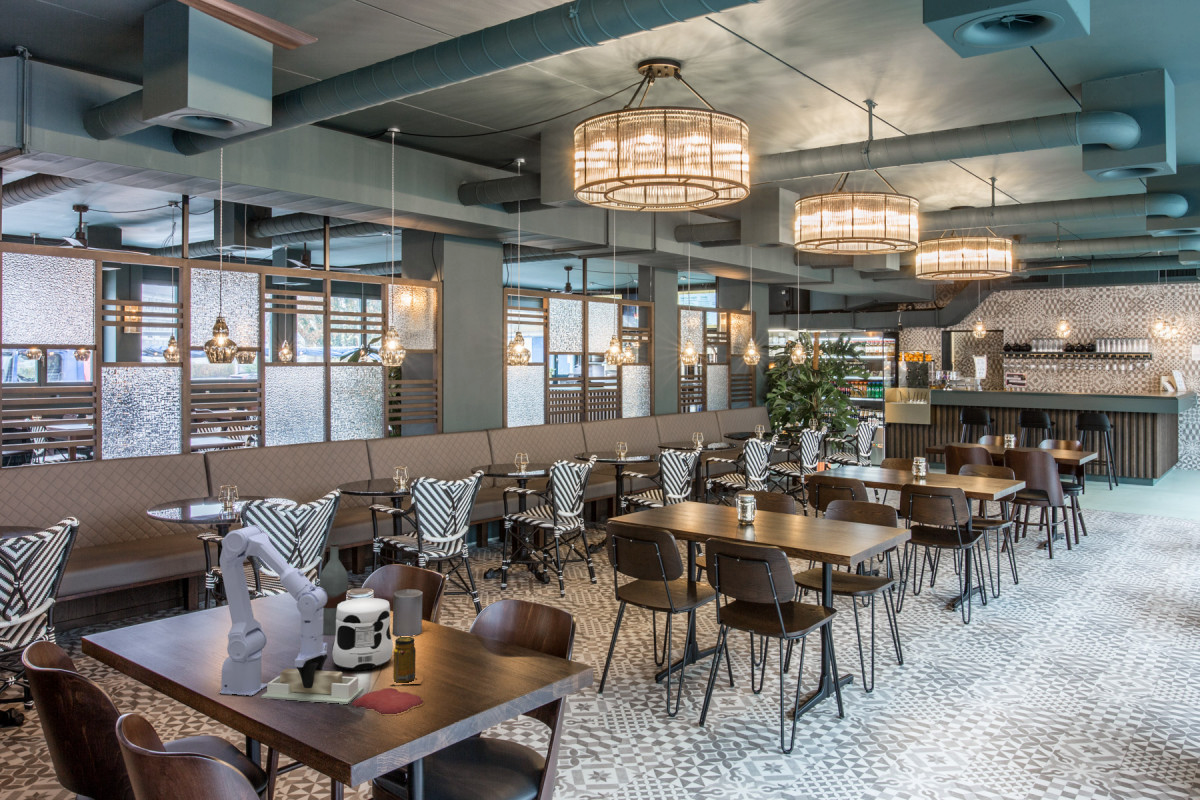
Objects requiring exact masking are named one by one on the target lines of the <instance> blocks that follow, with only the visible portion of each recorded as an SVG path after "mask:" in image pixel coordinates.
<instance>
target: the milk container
mask: <svg viewBox="0 0 1200 800" xmlns="http://www.w3.org/2000/svg"><path fill="white" fill-rule="evenodd" d="M390 615H391V605H390V601H388V600H386V599H382V598H378V597H377V598H375V597H362V598H359V597H358V598H353V599H346V601H344V602H341V603H339V604H338V606H337V612H336V635H334V640H333V643H332V644H333V645H332V648H331V651H332V659H333V662H334V664H335V665H336V666H338V667H339V668H342V669H345V670H353V671H359V670H361V671H364V670H370V669H375V668H377V667H382V666H383V665H385V664H386V663H388V662H389V661H390V660H391V657H392V655H393V650H394V649H393V648H394V647H393V639H392V635H391V630H390V629H391V627H390V626H391V616H390Z"/></svg>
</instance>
